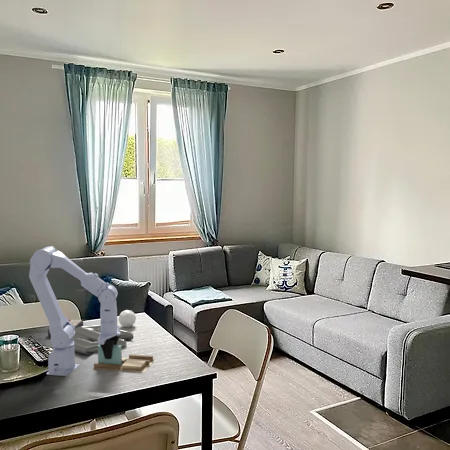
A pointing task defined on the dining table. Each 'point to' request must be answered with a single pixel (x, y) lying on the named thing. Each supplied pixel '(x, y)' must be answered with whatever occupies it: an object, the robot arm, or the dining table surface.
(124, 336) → the emblem
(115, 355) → the teal panel
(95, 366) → the rack
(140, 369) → the tan flat block
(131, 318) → the geometric ball
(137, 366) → the oak offcut
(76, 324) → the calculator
